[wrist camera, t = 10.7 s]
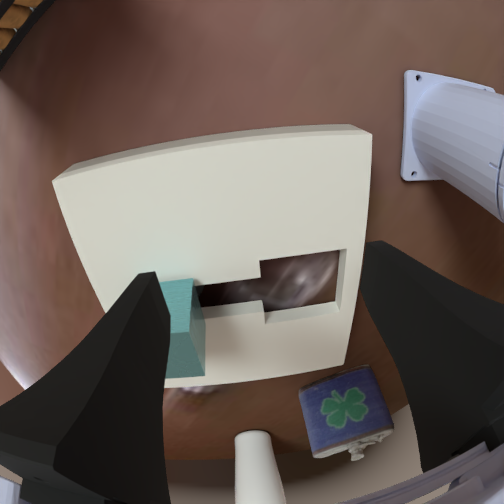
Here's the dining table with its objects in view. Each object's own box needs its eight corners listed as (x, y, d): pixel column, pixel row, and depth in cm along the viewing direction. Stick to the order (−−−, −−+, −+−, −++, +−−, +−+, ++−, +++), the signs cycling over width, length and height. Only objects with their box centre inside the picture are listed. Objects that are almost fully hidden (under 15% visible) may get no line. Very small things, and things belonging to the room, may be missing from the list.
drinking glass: (230, 427, 37) (239, 525, 25) (278, 425, 38) (294, 519, 26) (228, 443, 41) (235, 528, 28) (271, 441, 42) (284, 524, 29)
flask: (300, 396, 34) (318, 474, 25) (294, 386, 33) (313, 469, 24) (371, 371, 33) (401, 445, 24) (370, 359, 32) (403, 438, 23)
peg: (198, 243, 21) (192, 328, 15) (209, 291, 24) (209, 377, 17) (139, 252, 21) (112, 335, 14) (155, 298, 24) (140, 381, 17)
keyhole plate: (349, 123, 18) (372, 134, 15) (334, 339, 28) (343, 364, 26) (73, 164, 17) (51, 181, 14) (152, 361, 28) (149, 388, 25)
